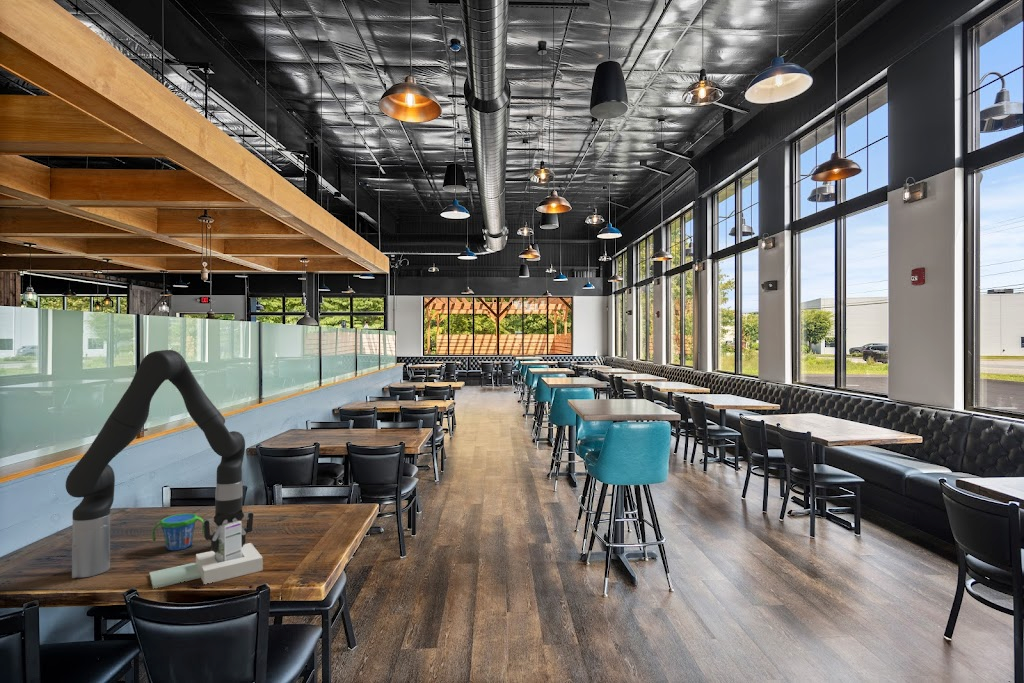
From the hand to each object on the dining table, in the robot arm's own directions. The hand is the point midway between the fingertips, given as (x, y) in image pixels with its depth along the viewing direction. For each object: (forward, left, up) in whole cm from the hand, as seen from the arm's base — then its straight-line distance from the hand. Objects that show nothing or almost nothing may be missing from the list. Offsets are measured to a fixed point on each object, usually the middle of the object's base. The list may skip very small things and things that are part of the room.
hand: (228, 548), depth 167 cm
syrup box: (0, 0, -6) cm, 6 cm away
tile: (-14, +4, -6) cm, 16 cm away
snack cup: (-10, +31, -6) cm, 33 cm away
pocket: (0, 0, -6) cm, 6 cm away
